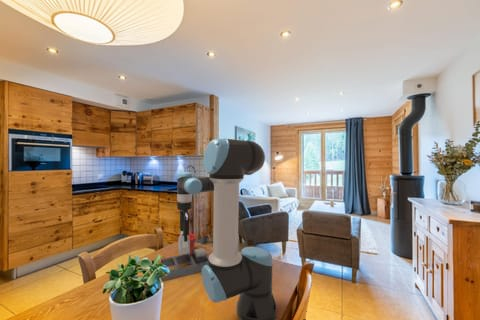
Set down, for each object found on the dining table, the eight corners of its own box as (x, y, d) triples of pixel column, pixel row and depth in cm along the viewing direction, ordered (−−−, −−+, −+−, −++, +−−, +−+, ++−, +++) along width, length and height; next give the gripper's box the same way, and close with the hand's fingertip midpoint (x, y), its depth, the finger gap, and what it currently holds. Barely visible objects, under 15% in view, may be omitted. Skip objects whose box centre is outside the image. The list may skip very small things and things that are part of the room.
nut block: (189, 253, 110) (189, 238, 110) (180, 255, 108) (180, 239, 108) (187, 249, 115) (187, 234, 115) (178, 251, 112) (178, 236, 112)
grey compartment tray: (212, 269, 110) (212, 261, 110) (158, 282, 98) (158, 273, 98) (204, 257, 124) (204, 250, 124) (155, 267, 112) (155, 260, 112)
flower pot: (175, 256, 125) (175, 239, 125) (181, 248, 136) (181, 233, 136) (193, 256, 125) (193, 240, 125) (197, 248, 136) (197, 233, 136)
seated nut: (205, 266, 114) (205, 251, 114) (196, 268, 112) (196, 253, 112) (202, 262, 118) (203, 247, 118) (194, 264, 116) (194, 249, 116)
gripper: (195, 204, 105) (195, 250, 105) (187, 198, 121) (187, 238, 121) (180, 205, 102) (180, 253, 102) (174, 199, 118) (174, 240, 118)
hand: (184, 245), depth 111 cm, fingers closed on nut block, 5 cm apart
